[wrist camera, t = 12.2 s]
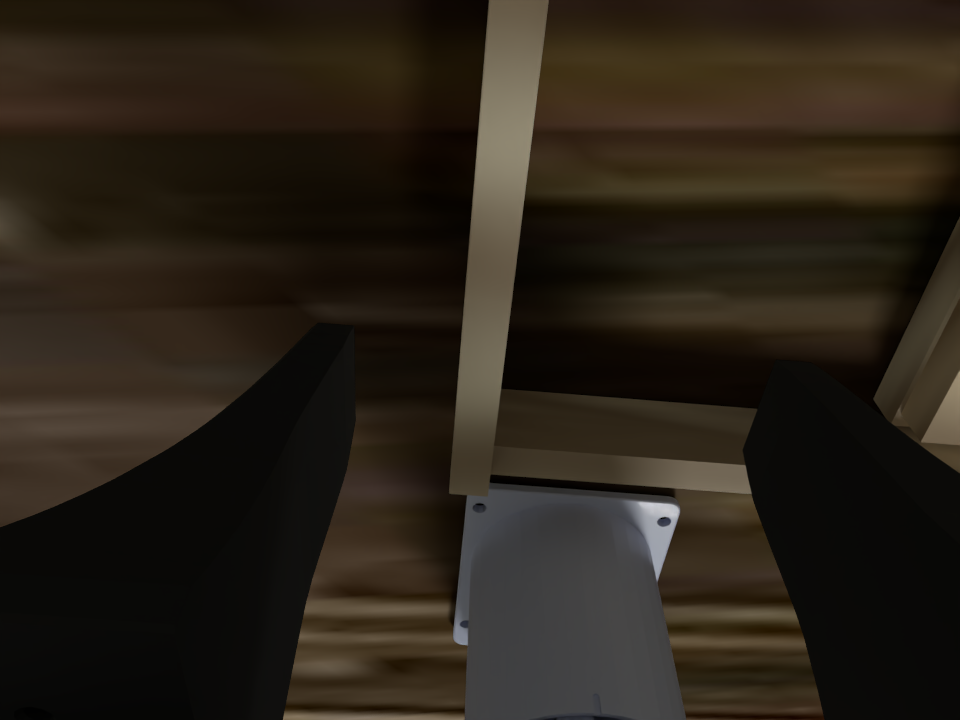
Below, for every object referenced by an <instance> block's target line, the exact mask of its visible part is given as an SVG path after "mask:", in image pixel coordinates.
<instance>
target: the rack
mask: <svg viewBox="0 0 960 720" xmlns="http://www.w3.org/2000/svg"><path fill="white" fill-rule="evenodd" d="M548 2H549V0H489V4H488V17H487V29H486V41H485V53H484V65H483V78H482V90H481V102H480V114H479V127H478V139H477V151H476V163H475V175H474V188H473V200H472V212H471V224H470V237H469V249H468V261H467V273H466V285H465V298H464V310H463V322H462V334H461V347H460V359H459V371H458V383H457V396H456V408H455V421H454V434H453V447H452V460H451V473H450V486H449V494H459V495H472V496H486V497H488V490H489V482H490V474H492V475H505V476H518V477H531V478H545V479H558V480H571V481H585V482H598V483H611V484H624V485H638V486H651V487H664V488H678V489H691V490H704V491H717V492H731V493H744V494H752V493H751V489H750V485H749V480H748V476H747V471H746V466H745V461H744V456H743V451H742V450H743V447H744V444H745V442H746V439H747V436H748V434H749V431H750V428H751V425H752V423H753V420H754V417H755V415H756V412H757V409H753V408H740V407H727V406H715V405H702V404H689V403H676V402H664V401H651V400H638V399H626V398H613V397H600V396H587V395H575V394H562V393H549V392H537V391H524V390H511V389H501V385H502V376H503V368H504V360H505V352H506V344H507V336H508V328H509V319H510V311H511V303H512V295H513V287H514V279H515V271H516V262H517V254H518V246H519V238H520V230H521V222H522V214H523V206H524V197H525V189H526V181H527V173H528V165H529V157H530V149H531V140H532V132H533V124H534V116H535V108H536V100H537V92H538V83H539V75H540V67H541V59H542V51H543V43H544V35H545V26H546V18H547V10H548ZM873 400H874V401H875V403H876V404H877V406H878V407H879V409H880V410H881V412H882V413H883V415H884V416H885V418H886V419H887V420H888V421H889V422H890V423H892V424H893V425H894V426H896V427H897V428H898V429H899V430H901V431H902V432H903V433H905V434H906V435H907V436H909V437H910V438H911V439H913V440H914V441H915V442H917V443H918V444H919V445H921V446H922V447H923V448H925V449H926V450H928V451H929V452H930V453H932V454H933V455H934V456H936V457H937V458H939V459H940V460H942V461H943V462H945V463H946V464H947V465H949V466H950V467H952V468H953V469H955V470H956V471H957V472H959V473H960V217H959V219H958V222H957V224H956V226H955V228H954V230H953V232H952V234H951V236H950V238H949V240H948V243H947V245H946V247H945V249H944V251H943V253H942V255H941V257H940V259H939V261H938V264H937V266H936V268H935V270H934V272H933V274H932V276H931V278H930V280H929V283H928V285H927V287H926V289H925V291H924V293H923V295H922V297H921V299H920V301H919V304H918V306H917V308H916V310H915V312H914V314H913V316H912V318H911V320H910V323H909V325H908V327H907V329H906V331H905V333H904V335H903V337H902V339H901V341H900V344H899V346H898V348H897V350H896V352H895V354H894V356H893V358H892V360H891V363H890V365H889V367H888V369H887V371H886V373H885V375H884V377H883V379H882V381H881V384H880V386H879V388H878V390H877V392H876V394H875V396H874V398H873Z"/></svg>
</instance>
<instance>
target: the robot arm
mask: <svg viewBox="0 0 960 720" xmlns="http://www.w3.org/2000/svg"><path fill="white" fill-rule="evenodd" d="M355 421H356V414H355V339H354V326H352V325H340V324H328V323H317V324H316V325H315V326H314V327H312V328H311V329H310V330H309V331H308V332H307V333H306V334H305V335H304V336H303V337H302V338H301V339H300V340H299V341H298V342H297V343H296V344H295V346H294V347H293V348H292V349H291V350H290V351H289V352H288V353H287V354H286V355H284V356H283V357H282V358H281V359H280V360H279V361H278V362H277V363H276V364H275V365H274V366H273V367H272V368H271V369H270V370H269V371H268V372H267V373H266V374H264V375H263V376H262V377H261V378H260V379H259V380H258V381H257V382H256V383H255V384H254V385H253V386H251V387H250V388H249V389H248V390H247V391H246V392H245V393H243V394H242V395H241V396H240V397H239V398H237V399H236V400H235V401H234V402H232V403H231V404H230V405H229V406H227V407H226V408H225V409H224V410H223V411H221V412H220V413H219V414H218V415H216V416H215V417H214V418H213V419H211V420H210V421H209V422H207V423H206V424H205V425H203V426H202V427H200V428H199V429H198V430H196V431H195V432H193V433H192V434H190V435H189V436H187V437H186V438H184V439H183V440H181V441H180V442H178V443H177V444H175V445H174V446H172V447H170V448H169V449H167V450H165V451H164V452H162V453H160V454H159V455H157V456H155V457H153V458H151V459H150V460H148V461H146V462H144V463H142V464H141V465H139V466H137V467H135V468H133V469H132V470H130V471H128V472H126V473H124V474H123V475H121V476H119V477H117V478H115V479H113V480H111V481H109V482H107V483H105V484H103V485H101V486H99V487H97V488H95V489H93V490H91V491H88V492H86V493H84V494H82V495H80V496H78V497H75V498H73V499H71V500H69V501H66V502H64V503H62V504H59V505H57V506H55V507H53V508H50V509H48V510H45V511H43V512H40V513H38V514H35V515H33V516H30V517H27V518H25V519H22V520H19V521H16V522H14V523H11V524H8V525H6V526H3V527H0V720H283V715H284V710H285V705H286V700H287V694H288V689H289V684H290V679H291V674H292V669H293V664H294V658H295V653H296V648H297V644H298V639H299V634H300V629H301V624H302V619H303V614H304V610H305V605H306V600H307V597H308V593H309V589H310V585H311V582H312V578H313V575H314V572H315V569H316V565H317V562H318V559H319V556H320V553H321V550H322V547H323V543H324V540H325V537H326V534H327V531H328V528H329V525H330V522H331V518H332V515H333V512H334V509H335V506H336V503H337V499H338V496H339V493H340V490H341V487H342V484H343V480H344V477H345V474H346V470H347V465H348V460H349V455H350V449H351V444H352V438H353V432H354V427H355ZM742 451H743V456H744V461H745V466H746V471H747V476H748V480H749V485H750V489H751V493H752V497H753V501H754V504H755V507H756V510H757V512H758V515H759V518H760V520H761V523H762V526H763V528H764V531H765V534H766V536H767V539H768V542H769V544H770V547H771V550H772V552H773V555H774V557H775V560H776V562H777V565H778V568H779V570H780V573H781V575H782V578H783V581H784V583H785V586H786V588H787V591H788V593H789V596H790V599H791V601H792V604H793V606H794V609H795V612H796V615H797V618H798V621H799V624H800V627H801V630H802V633H803V636H804V639H805V643H806V647H807V650H808V654H809V658H810V662H811V666H812V669H813V673H814V677H815V681H816V685H817V689H818V693H819V697H820V701H821V706H822V710H823V714H824V719H825V720H960V473H959V472H957V471H956V470H955V469H953V468H952V467H950V466H949V465H947V464H946V463H945V462H943V461H942V460H940V459H939V458H937V457H936V456H934V455H933V454H932V453H930V452H929V451H928V450H926V449H925V448H923V447H922V446H921V445H919V444H918V443H917V442H915V441H914V440H913V439H911V438H910V437H909V436H907V435H906V434H905V433H903V432H902V431H901V430H899V429H898V428H897V427H896V426H894V425H893V424H892V423H890V422H889V421H888V420H887V419H885V418H884V417H883V416H881V415H880V414H879V413H878V412H876V411H875V410H874V409H873V408H871V407H870V406H869V405H867V404H866V403H865V402H864V401H862V400H861V399H860V398H859V397H857V396H856V395H855V394H854V393H852V392H851V391H850V390H848V389H847V388H846V387H845V386H843V385H842V384H841V383H839V382H838V381H837V380H835V379H834V378H833V377H831V376H830V375H829V374H827V373H826V372H825V371H823V370H822V369H820V368H819V367H817V366H816V365H814V364H813V363H811V362H799V361H786V360H776V361H775V363H774V366H773V369H772V371H771V374H770V377H769V379H768V382H767V385H766V388H765V390H764V393H763V396H762V398H761V401H760V404H759V407H758V409H757V412H756V415H755V417H754V420H753V423H752V425H751V428H750V431H749V434H748V436H747V439H746V442H745V444H744V447H743V450H742ZM477 503H481V504H484V505H480V506H479V505H475V504H477ZM679 514H680V506H679V503H678V501H677V500H676V499H675V498H673V497H669V496H658V495H645V494H631V493H618V492H605V491H591V490H578V489H565V488H551V487H538V486H525V485H511V484H498V483H489V490H488V497H486V496H472V495H467V500H466V510H465V520H464V530H463V540H462V550H461V560H460V570H459V580H458V589H457V599H456V609H455V619H454V629H453V639H454V641H455V642H456V643H458V644H461V645H468V649H467V675H466V701H465V720H686V717H685V712H684V707H683V703H682V698H681V693H680V688H679V684H678V679H677V674H676V669H675V665H674V660H673V655H672V650H671V646H670V641H669V636H668V632H667V627H666V622H665V617H664V613H663V608H662V603H661V598H660V594H659V589H658V584H657V581H658V578H659V575H660V572H661V569H662V566H663V563H664V560H665V557H666V554H667V551H668V548H669V544H670V541H671V538H672V535H673V532H674V529H675V526H676V523H677V520H678V517H679ZM661 517H667V518H665V519H660V518H661Z"/></svg>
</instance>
